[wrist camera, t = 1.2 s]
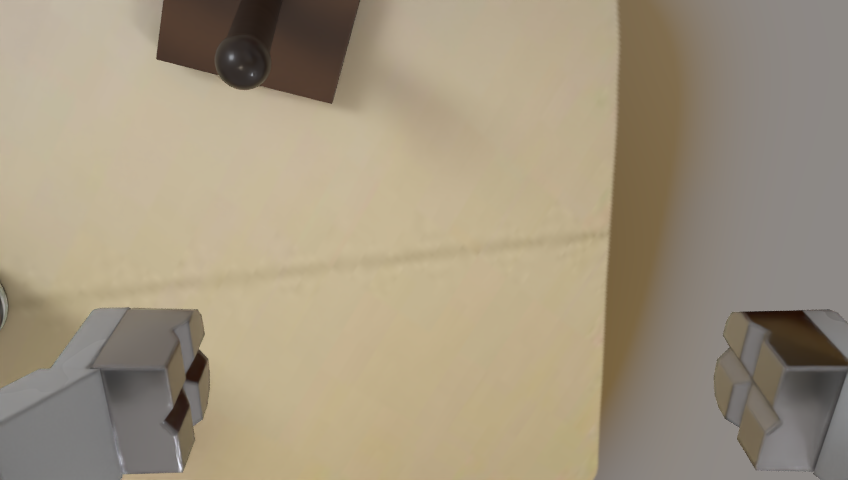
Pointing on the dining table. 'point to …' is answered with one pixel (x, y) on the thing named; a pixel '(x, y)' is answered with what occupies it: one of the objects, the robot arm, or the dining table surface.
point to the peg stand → (261, 42)
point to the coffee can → (3, 306)
